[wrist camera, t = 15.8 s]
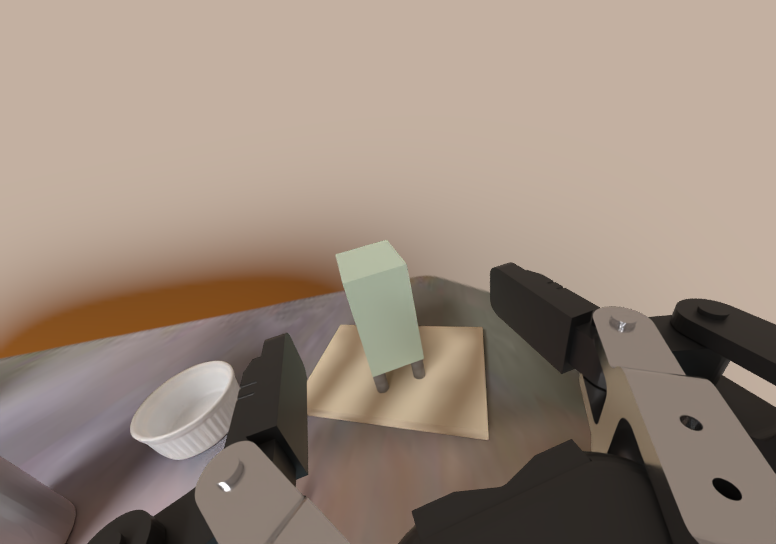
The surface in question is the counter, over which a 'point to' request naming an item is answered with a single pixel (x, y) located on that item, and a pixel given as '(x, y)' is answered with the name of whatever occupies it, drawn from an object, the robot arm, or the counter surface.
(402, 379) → the peg board
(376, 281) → the green block
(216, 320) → the counter surface
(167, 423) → the ramekin
